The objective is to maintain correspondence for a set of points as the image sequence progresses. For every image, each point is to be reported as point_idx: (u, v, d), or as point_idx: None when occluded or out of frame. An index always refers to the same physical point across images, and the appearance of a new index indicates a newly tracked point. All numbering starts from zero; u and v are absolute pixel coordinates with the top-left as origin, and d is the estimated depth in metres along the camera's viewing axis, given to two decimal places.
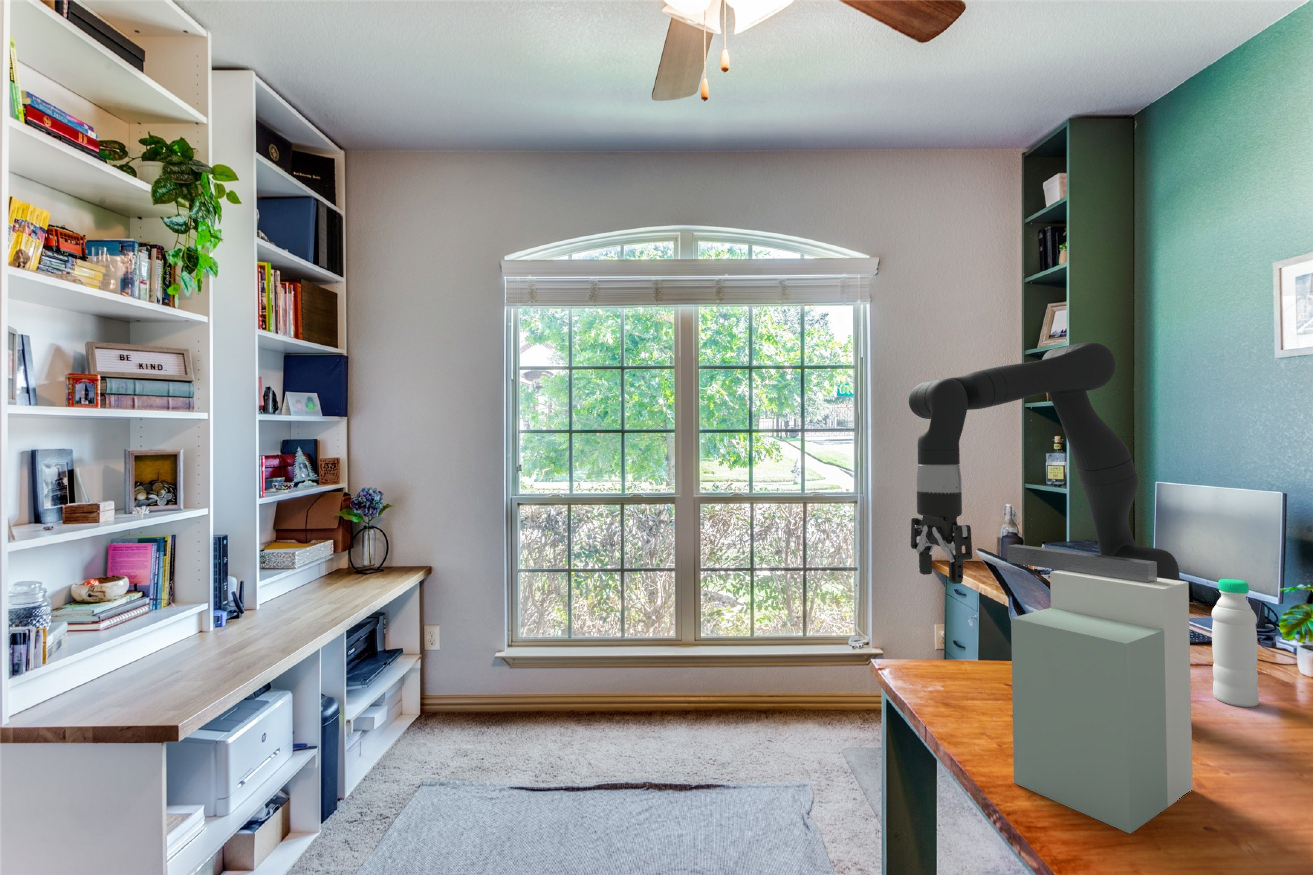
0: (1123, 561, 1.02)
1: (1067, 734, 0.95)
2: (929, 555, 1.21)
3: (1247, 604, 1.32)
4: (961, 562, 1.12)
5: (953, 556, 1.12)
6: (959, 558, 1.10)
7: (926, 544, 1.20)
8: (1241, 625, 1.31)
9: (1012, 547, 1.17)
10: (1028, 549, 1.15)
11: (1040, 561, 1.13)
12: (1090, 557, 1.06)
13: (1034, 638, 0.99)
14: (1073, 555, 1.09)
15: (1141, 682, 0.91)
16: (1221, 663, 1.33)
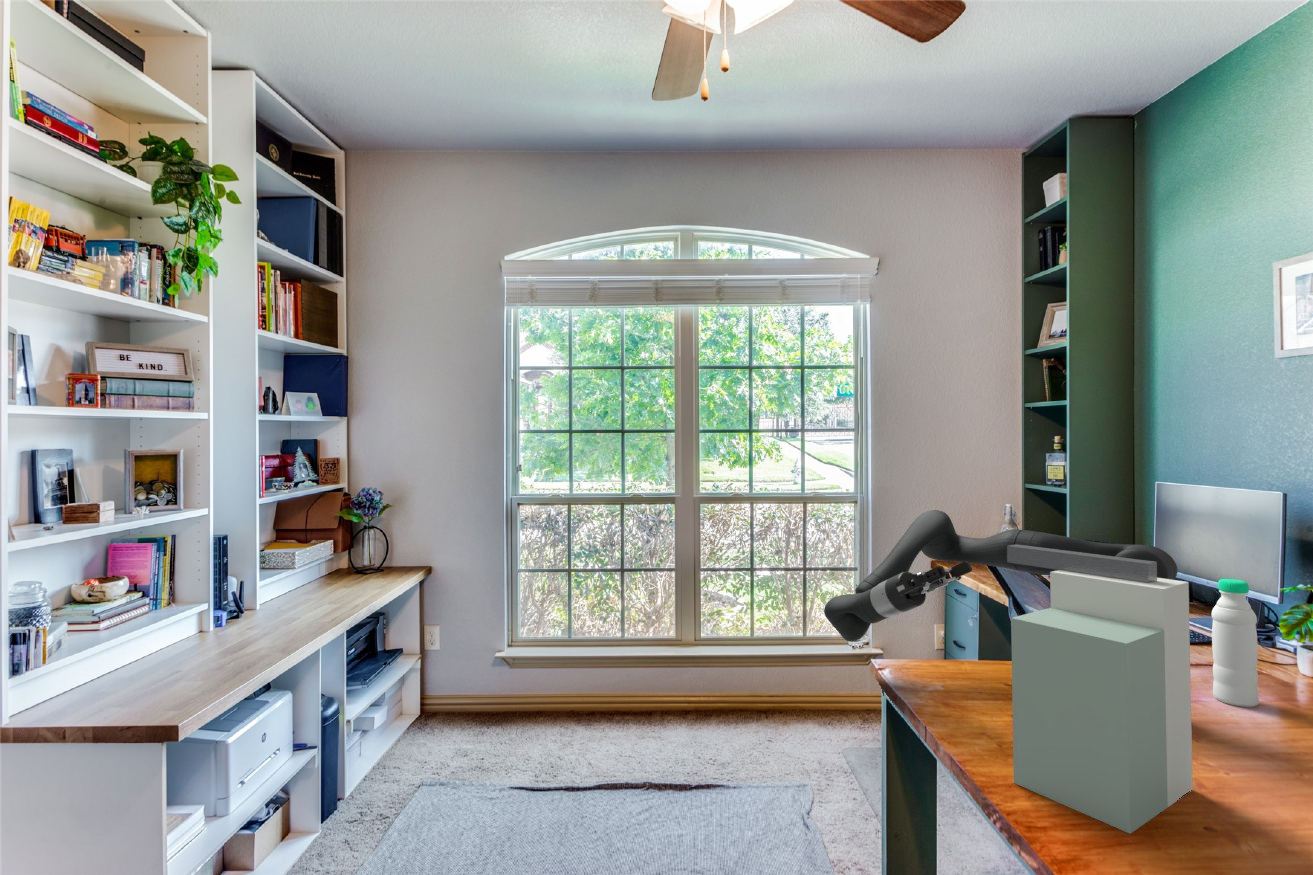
0: (1123, 561, 1.02)
1: (1067, 734, 0.95)
2: (953, 569, 1.33)
3: (1247, 604, 1.32)
4: (924, 576, 1.28)
5: (924, 584, 1.29)
6: (919, 586, 1.27)
7: (944, 579, 1.34)
8: (1241, 625, 1.31)
9: (1012, 547, 1.17)
10: (1028, 549, 1.15)
11: (1040, 561, 1.13)
12: (1090, 557, 1.06)
13: (1034, 638, 0.99)
14: (1073, 555, 1.09)
15: (1141, 682, 0.91)
16: (1221, 663, 1.33)
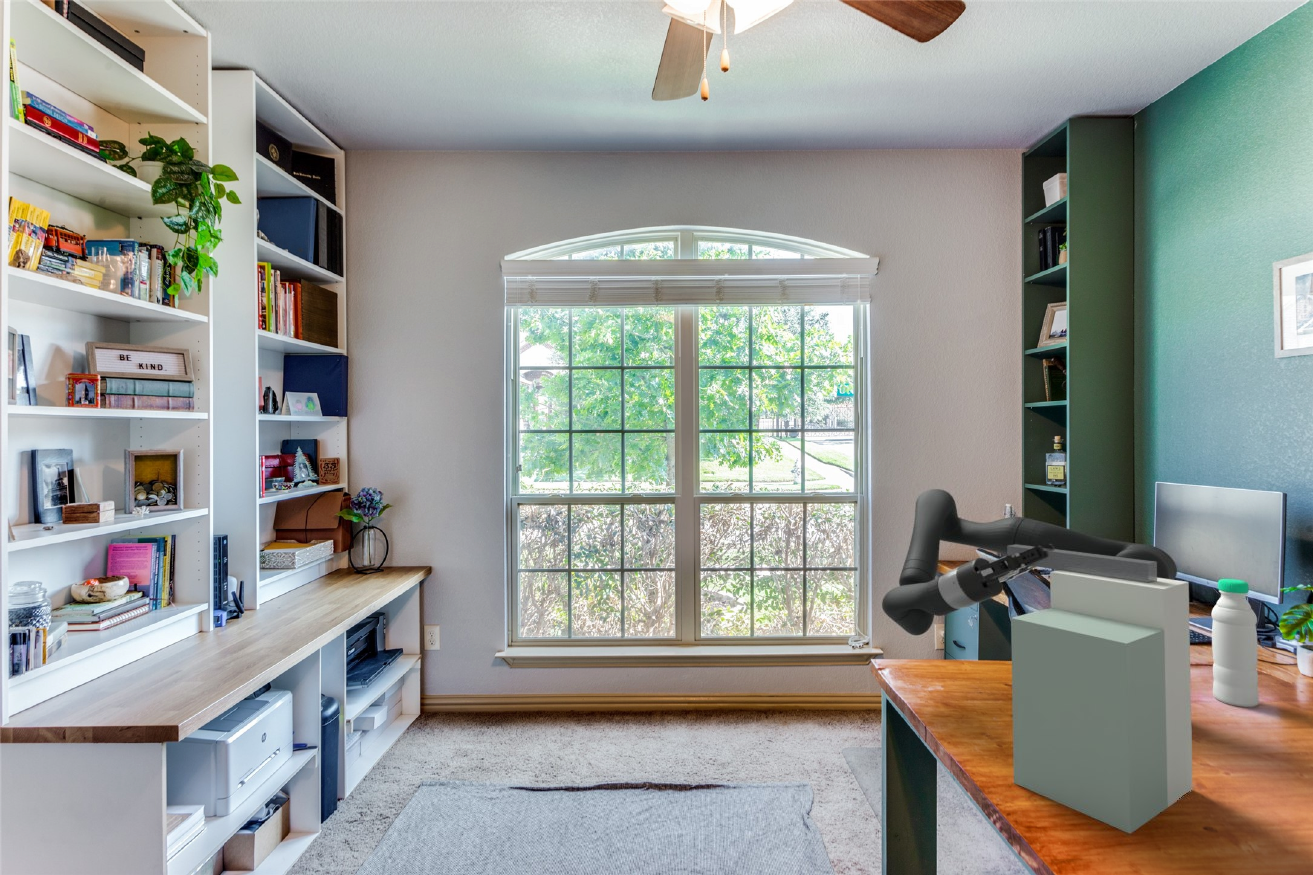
0: (1123, 561, 1.02)
1: (1067, 734, 0.95)
2: None
3: (1247, 604, 1.32)
4: (1019, 558, 1.15)
5: (1020, 566, 1.15)
6: (1014, 568, 1.14)
7: None
8: (1241, 625, 1.31)
9: (1012, 547, 1.17)
10: (1028, 549, 1.15)
11: (1040, 561, 1.13)
12: (1090, 557, 1.06)
13: (1034, 638, 0.99)
14: (1073, 555, 1.09)
15: (1141, 682, 0.91)
16: (1221, 663, 1.33)
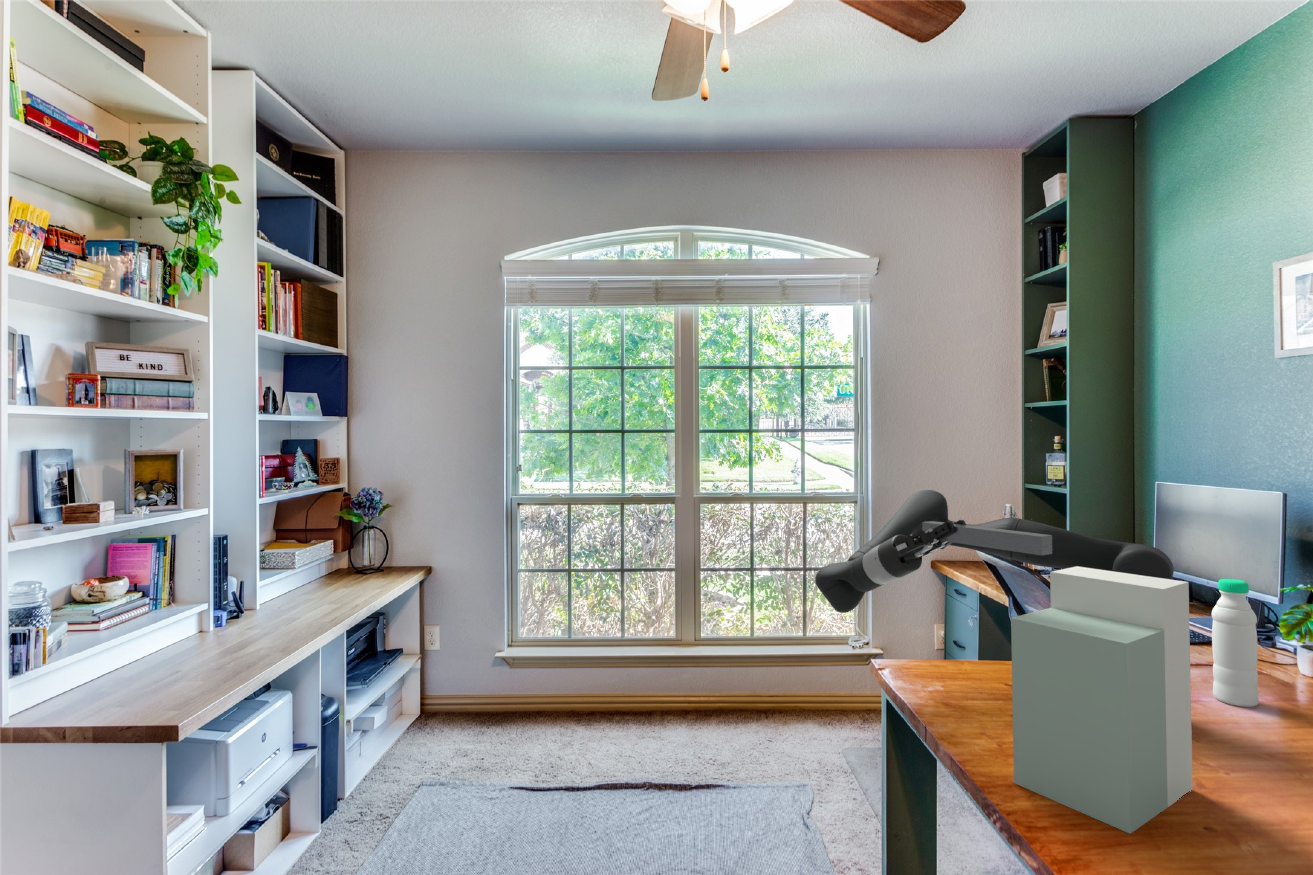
0: (1021, 535, 1.06)
1: (1067, 734, 0.95)
2: None
3: (1247, 604, 1.32)
4: (932, 533, 1.19)
5: (932, 541, 1.19)
6: (926, 543, 1.18)
7: (938, 541, 1.22)
8: (1241, 625, 1.31)
9: (926, 523, 1.21)
10: None
11: (951, 536, 1.17)
12: (993, 531, 1.10)
13: (1034, 638, 0.99)
14: (978, 530, 1.12)
15: (1141, 682, 0.91)
16: (1221, 663, 1.33)
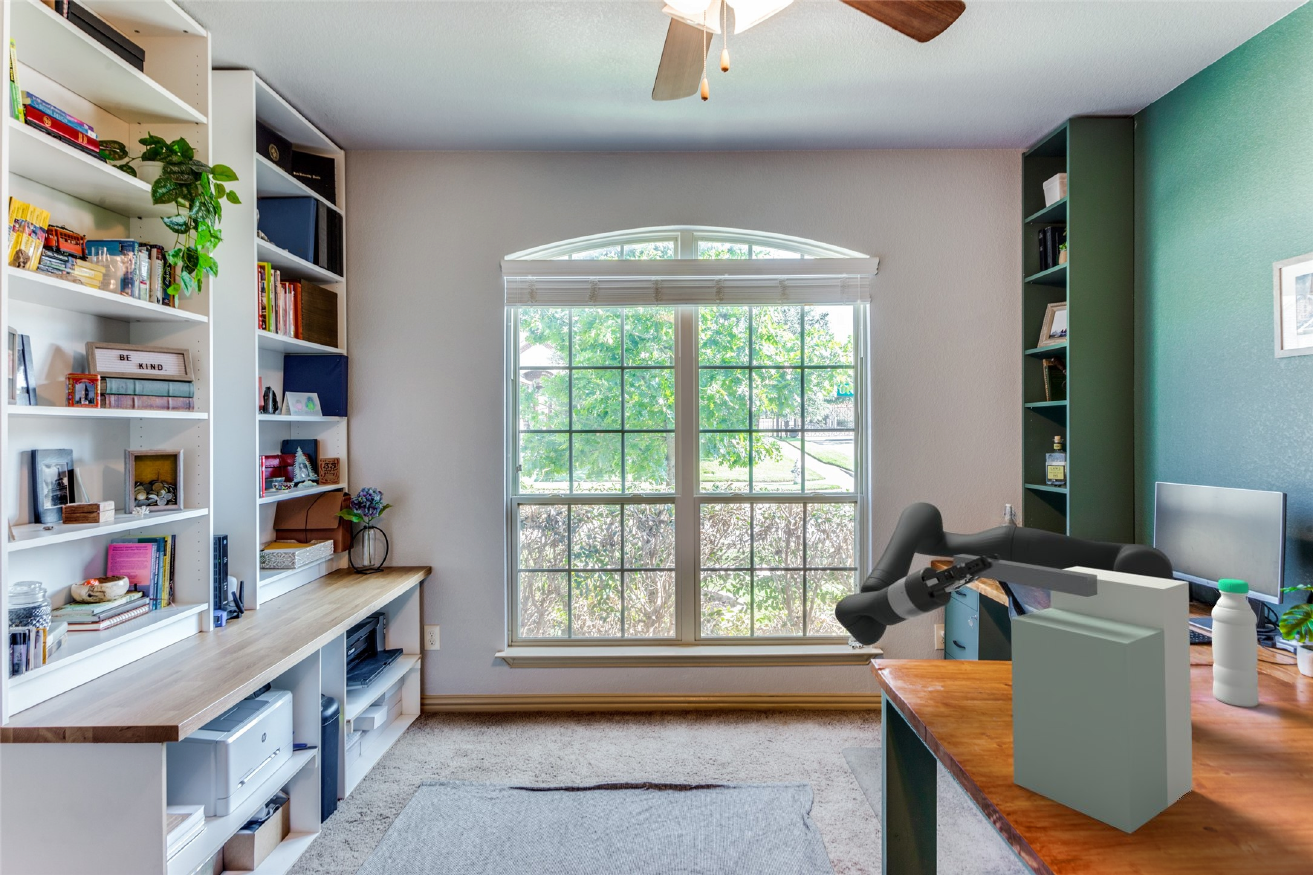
0: (1063, 574, 1.00)
1: (1067, 734, 0.95)
2: None
3: (1247, 604, 1.32)
4: (964, 568, 1.12)
5: (965, 576, 1.13)
6: (959, 579, 1.12)
7: None
8: (1241, 625, 1.31)
9: (958, 557, 1.15)
10: (973, 559, 1.13)
11: (985, 571, 1.11)
12: (1032, 569, 1.04)
13: (1034, 638, 0.99)
14: (1016, 566, 1.06)
15: (1141, 682, 0.91)
16: (1221, 663, 1.33)
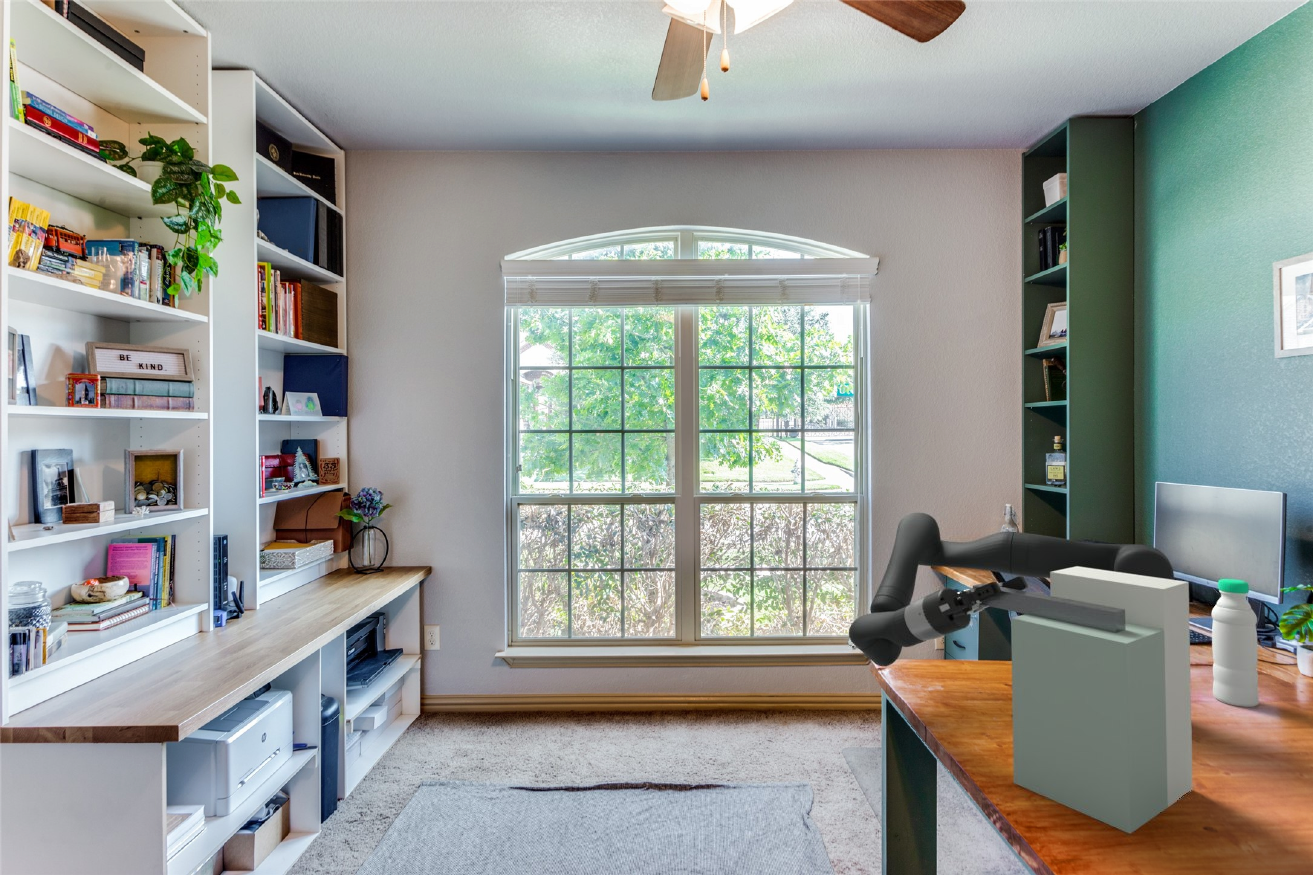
0: (1090, 608, 0.97)
1: (1067, 734, 0.95)
2: (1004, 585, 1.13)
3: (1247, 604, 1.32)
4: (974, 594, 1.09)
5: (974, 603, 1.09)
6: (968, 605, 1.08)
7: None
8: (1241, 625, 1.31)
9: (978, 587, 1.12)
10: None
11: (1006, 603, 1.07)
12: (1056, 602, 1.01)
13: (1034, 638, 0.99)
14: (1039, 599, 1.03)
15: (1141, 682, 0.91)
16: (1221, 663, 1.33)
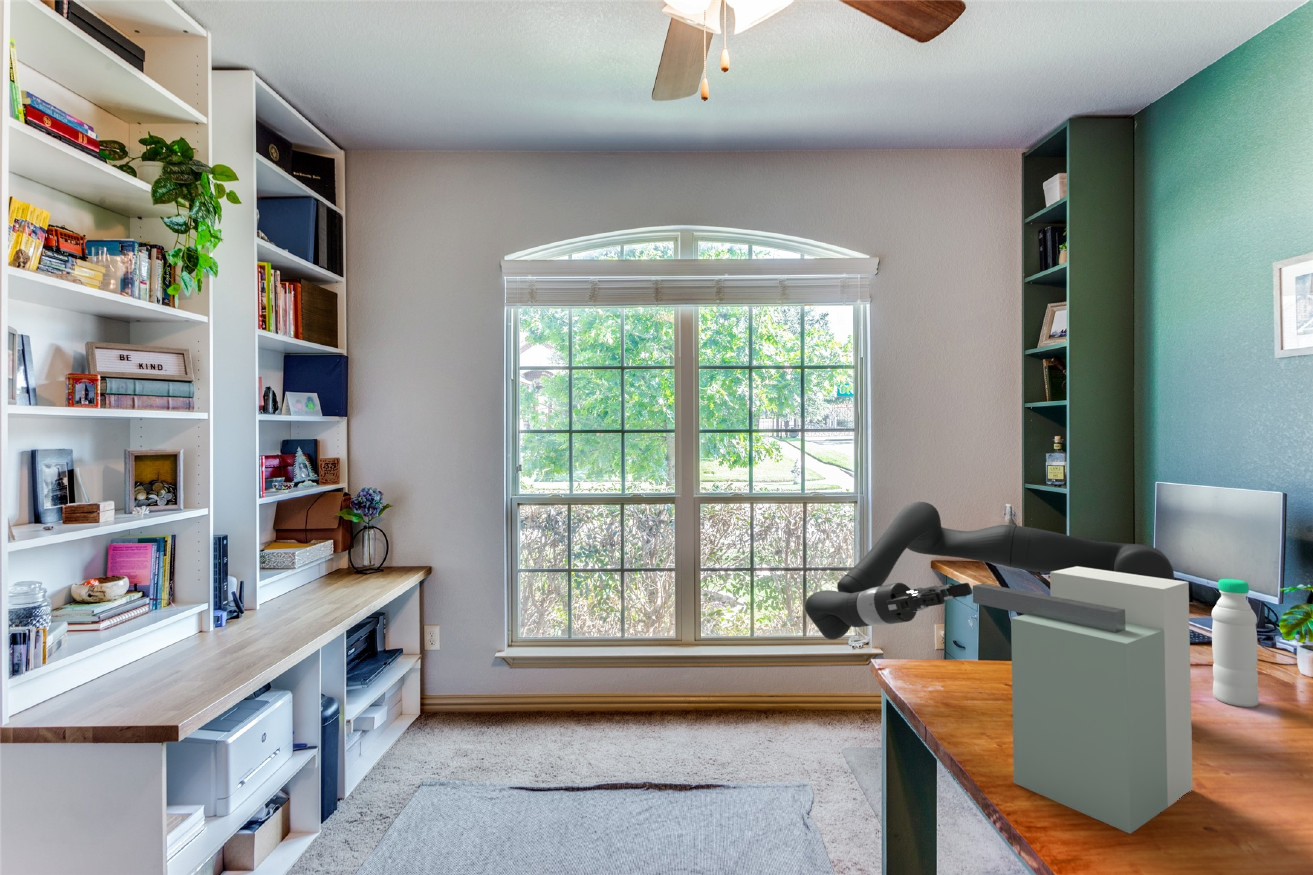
0: (1090, 608, 0.97)
1: (1067, 734, 0.95)
2: (951, 588, 1.22)
3: (1247, 604, 1.32)
4: (920, 599, 1.17)
5: (918, 607, 1.17)
6: (913, 610, 1.16)
7: None
8: (1241, 625, 1.31)
9: (978, 587, 1.12)
10: (994, 590, 1.09)
11: (1006, 603, 1.07)
12: (1056, 602, 1.01)
13: (1034, 638, 0.99)
14: (1039, 599, 1.03)
15: (1141, 682, 0.91)
16: (1221, 663, 1.33)
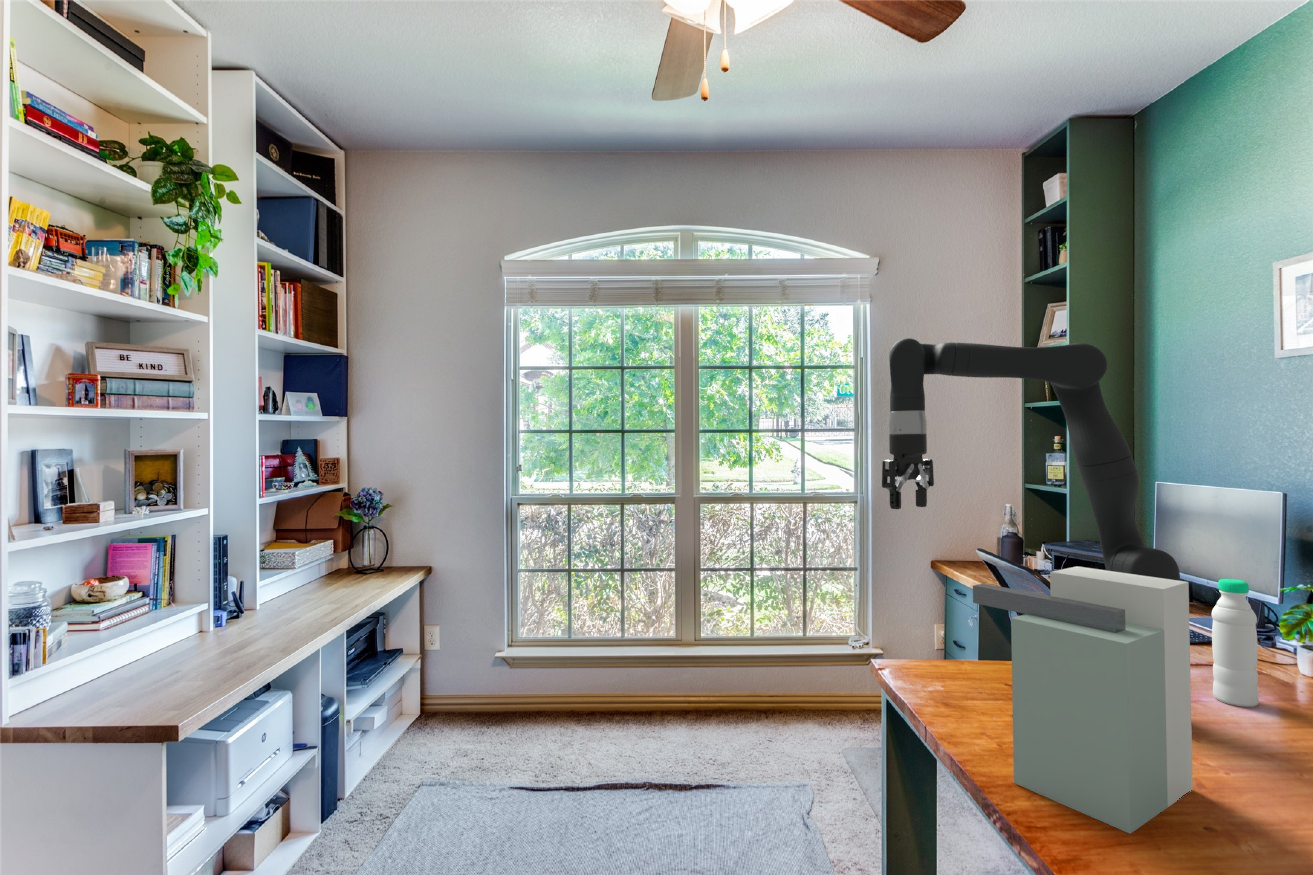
0: (1090, 608, 0.97)
1: (1067, 734, 0.95)
2: (922, 490, 1.40)
3: (1247, 604, 1.32)
4: (893, 491, 1.36)
5: None
6: (882, 486, 1.36)
7: (914, 480, 1.41)
8: (1241, 625, 1.31)
9: (978, 587, 1.12)
10: (994, 590, 1.09)
11: (1006, 603, 1.07)
12: (1056, 602, 1.01)
13: (1034, 638, 0.99)
14: (1039, 599, 1.03)
15: (1141, 682, 0.91)
16: (1221, 663, 1.33)
